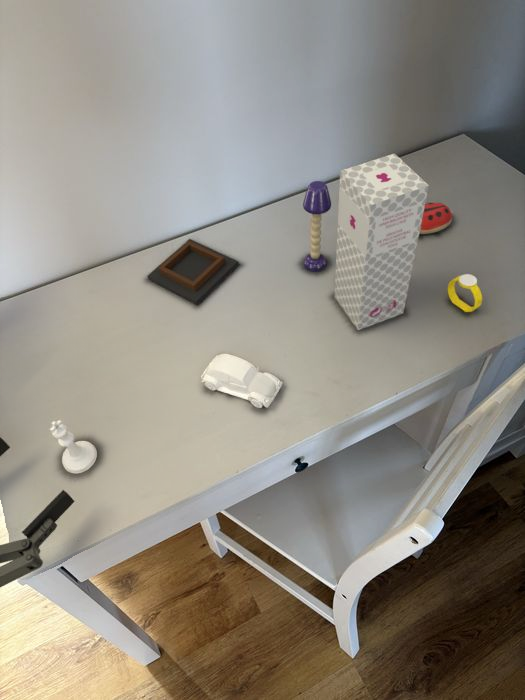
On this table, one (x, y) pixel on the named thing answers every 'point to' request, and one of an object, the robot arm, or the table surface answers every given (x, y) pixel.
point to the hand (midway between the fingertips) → (35, 467)
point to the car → (241, 380)
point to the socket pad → (193, 271)
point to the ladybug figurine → (435, 218)
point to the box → (377, 238)
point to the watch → (468, 283)
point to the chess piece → (74, 449)
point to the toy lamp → (316, 222)
